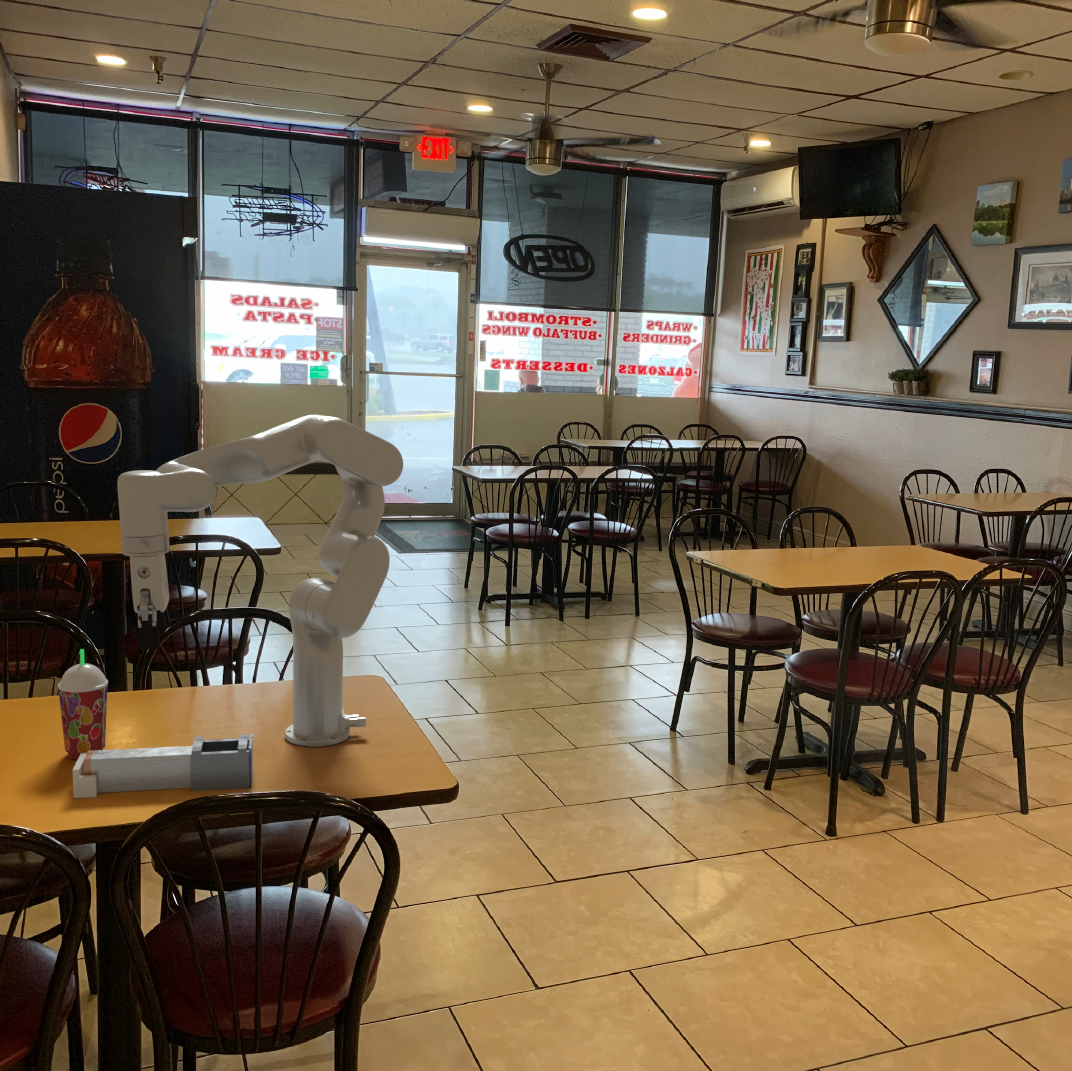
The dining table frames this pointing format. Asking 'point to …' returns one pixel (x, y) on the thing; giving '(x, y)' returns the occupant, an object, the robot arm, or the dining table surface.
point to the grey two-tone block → (140, 768)
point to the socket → (83, 780)
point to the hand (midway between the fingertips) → (152, 640)
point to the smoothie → (83, 708)
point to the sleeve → (221, 763)
